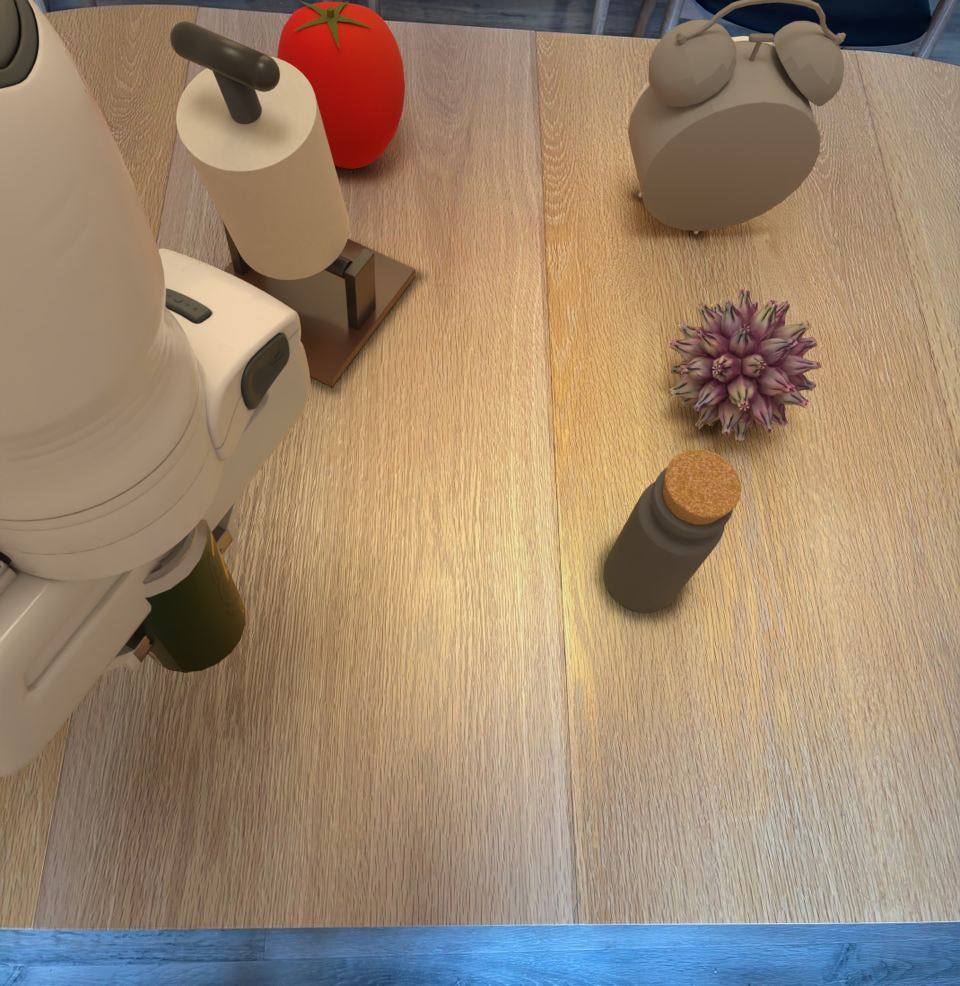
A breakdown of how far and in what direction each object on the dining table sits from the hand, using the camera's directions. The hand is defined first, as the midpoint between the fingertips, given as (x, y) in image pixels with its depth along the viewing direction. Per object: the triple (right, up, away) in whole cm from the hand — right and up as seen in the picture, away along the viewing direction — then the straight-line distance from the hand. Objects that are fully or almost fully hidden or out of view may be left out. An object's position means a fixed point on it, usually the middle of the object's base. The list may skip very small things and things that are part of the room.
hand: (176, 592), depth 41 cm
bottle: (+27, -2, +24) cm, 36 cm away
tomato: (+1, +39, +43) cm, 58 cm away
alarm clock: (+35, +32, +43) cm, 64 cm away
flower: (+35, +12, +32) cm, 49 cm away
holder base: (-1, +22, +34) cm, 40 cm away
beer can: (0, -2, +4) cm, 5 cm away
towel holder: (-2, +24, +18) cm, 30 cm away
